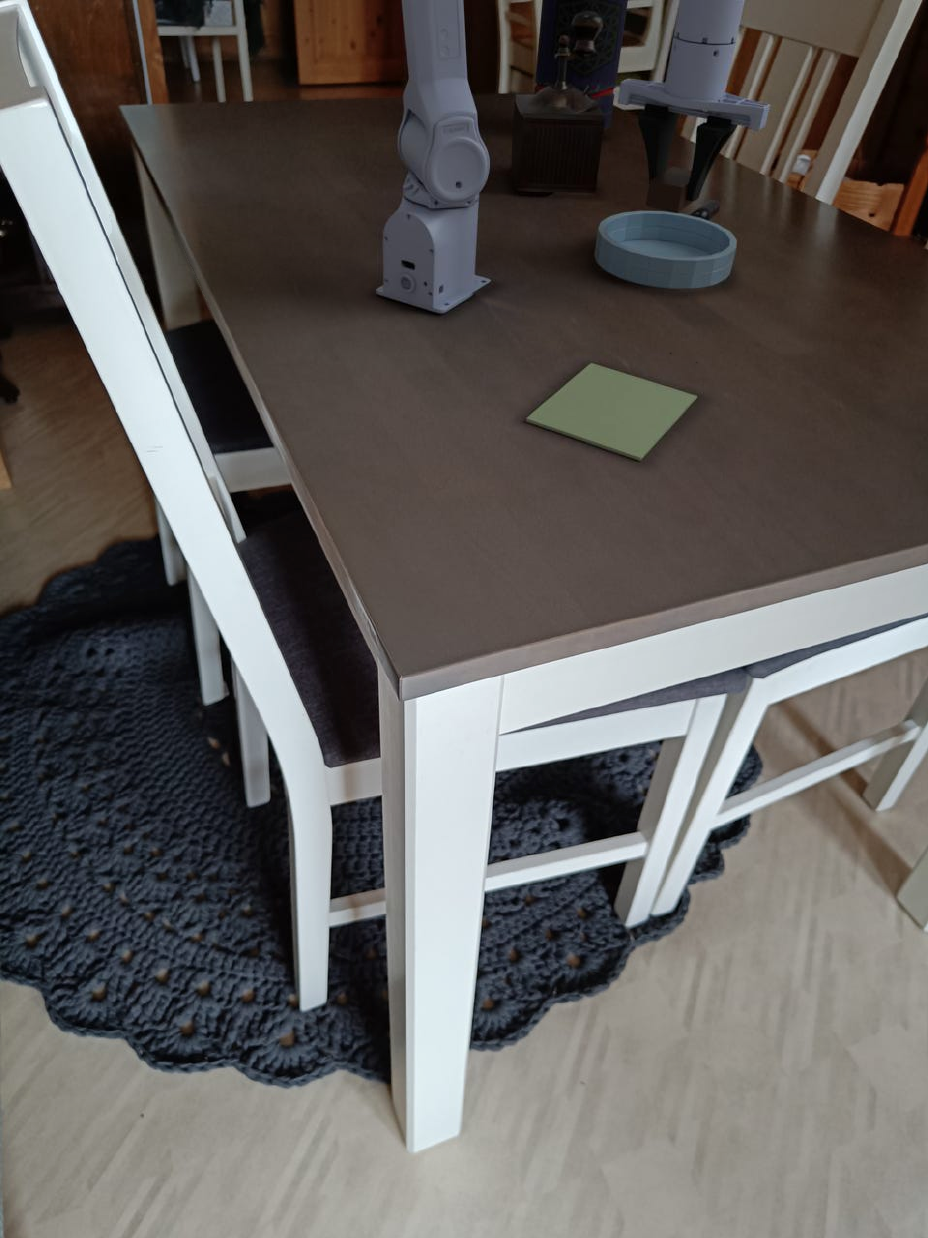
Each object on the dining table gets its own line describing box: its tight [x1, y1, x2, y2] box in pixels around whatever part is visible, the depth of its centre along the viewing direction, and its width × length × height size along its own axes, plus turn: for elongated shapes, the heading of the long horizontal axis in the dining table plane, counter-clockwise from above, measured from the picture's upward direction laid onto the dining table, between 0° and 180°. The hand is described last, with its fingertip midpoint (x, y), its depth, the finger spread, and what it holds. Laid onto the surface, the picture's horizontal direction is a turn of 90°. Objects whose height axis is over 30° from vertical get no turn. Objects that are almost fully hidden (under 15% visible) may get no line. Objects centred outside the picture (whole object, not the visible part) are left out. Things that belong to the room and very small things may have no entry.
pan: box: [593, 210, 738, 290], centre depth 97 cm, size 15×15×4 cm
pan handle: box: [689, 199, 721, 221], centre depth 104 cm, size 8×2×2 cm, turn 148°
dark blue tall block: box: [533, 0, 629, 132], centre depth 128 cm, size 14×12×30 cm
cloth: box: [525, 362, 698, 462], centre depth 74 cm, size 12×10×1 cm
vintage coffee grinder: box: [509, 11, 605, 197], centre depth 114 cm, size 16×11×18 cm
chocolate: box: [645, 166, 700, 213], centre depth 92 cm, size 6×4×2 cm, turn 148°
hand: (674, 194), depth 93 cm, fingers closed on chocolate, 3 cm apart
